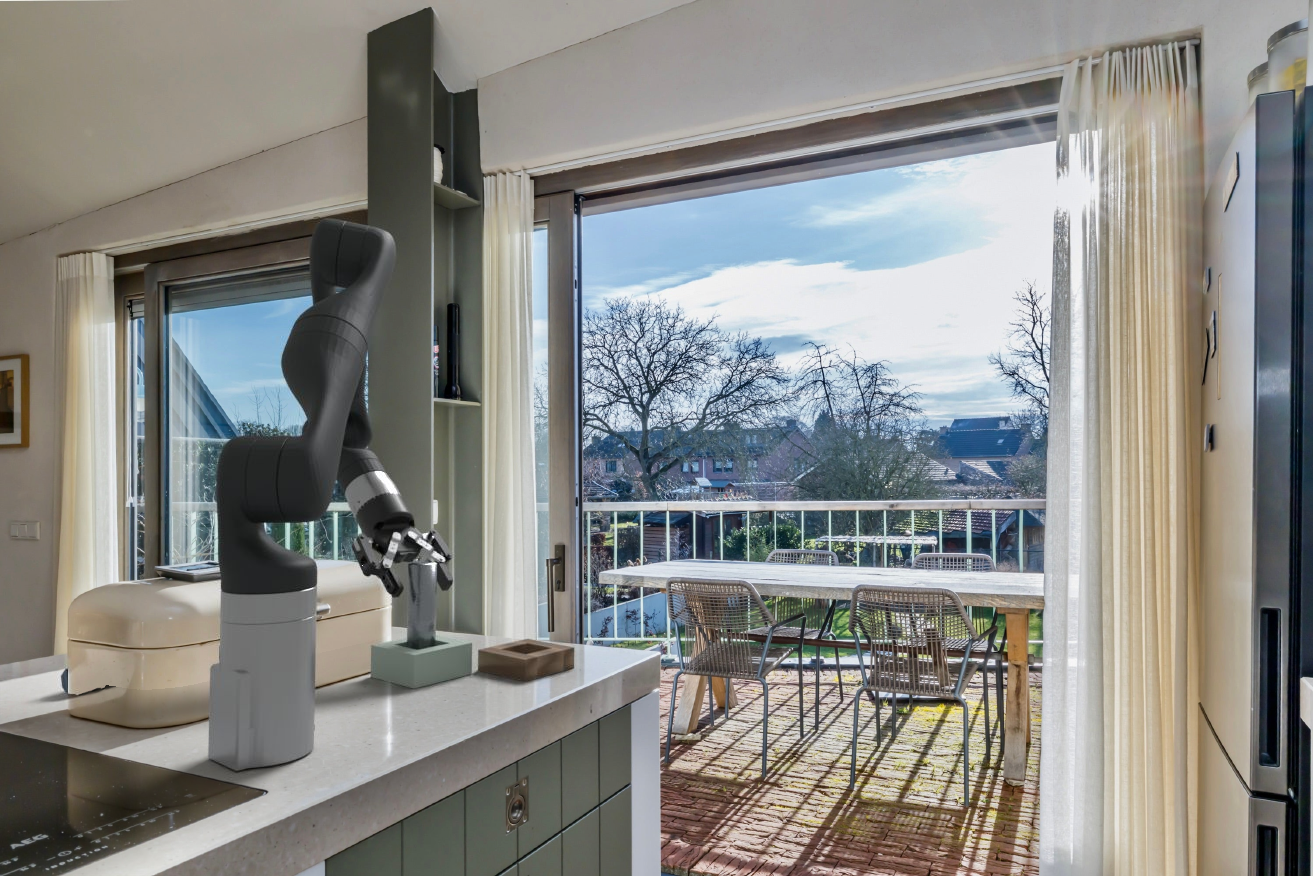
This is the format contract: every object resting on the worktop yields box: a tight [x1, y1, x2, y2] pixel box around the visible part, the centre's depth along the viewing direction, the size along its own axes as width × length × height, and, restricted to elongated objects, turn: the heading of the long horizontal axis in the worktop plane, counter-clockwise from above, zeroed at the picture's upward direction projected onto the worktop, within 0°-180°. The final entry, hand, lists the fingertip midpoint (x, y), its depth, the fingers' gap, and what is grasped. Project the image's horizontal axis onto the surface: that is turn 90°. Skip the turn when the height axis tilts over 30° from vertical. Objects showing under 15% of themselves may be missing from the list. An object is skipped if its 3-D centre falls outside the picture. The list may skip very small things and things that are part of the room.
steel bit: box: [406, 561, 438, 650], centre depth 119 cm, size 4×4×16 cm
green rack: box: [370, 634, 473, 689], centre depth 119 cm, size 10×10×4 cm
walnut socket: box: [477, 638, 575, 682], centre depth 123 cm, size 10×10×3 cm
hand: (424, 590), depth 119 cm, fingers open, 8 cm apart
